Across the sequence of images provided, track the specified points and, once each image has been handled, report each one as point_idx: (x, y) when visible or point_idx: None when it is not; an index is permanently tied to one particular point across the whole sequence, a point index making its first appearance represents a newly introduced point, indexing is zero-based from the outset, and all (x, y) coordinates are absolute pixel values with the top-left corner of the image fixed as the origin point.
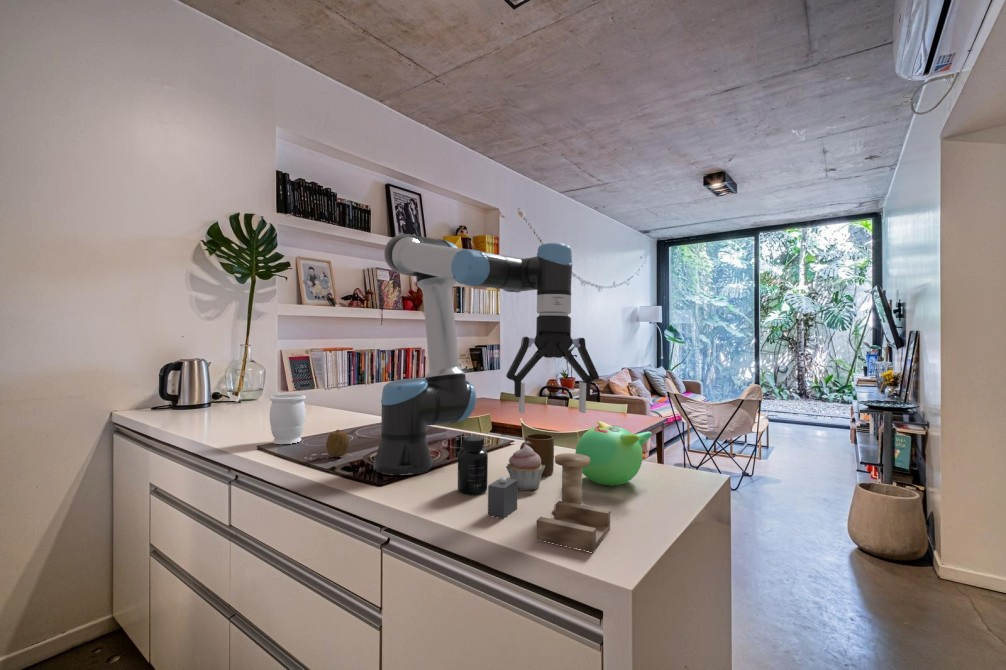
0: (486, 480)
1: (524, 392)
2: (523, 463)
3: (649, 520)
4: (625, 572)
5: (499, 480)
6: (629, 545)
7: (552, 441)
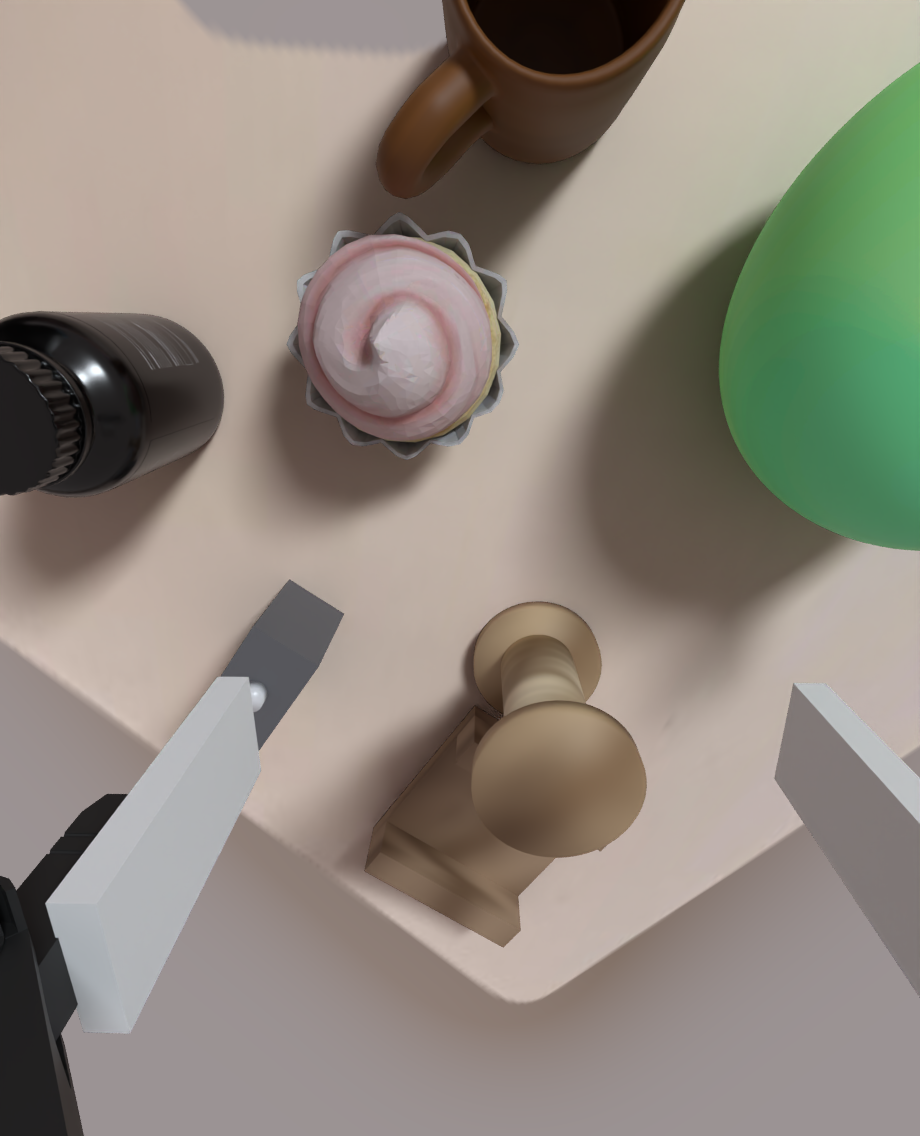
0: (202, 428)
1: (183, 923)
2: (372, 434)
3: (772, 743)
4: (542, 969)
5: (239, 666)
6: (615, 873)
7: (663, 38)
